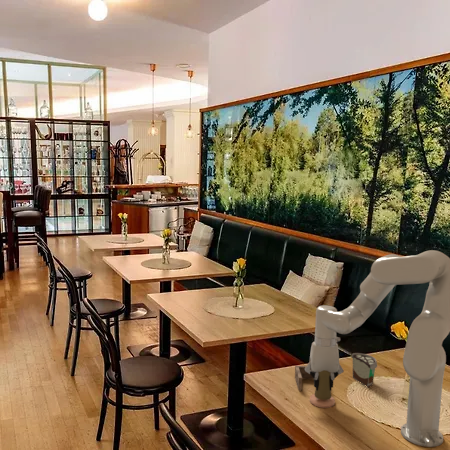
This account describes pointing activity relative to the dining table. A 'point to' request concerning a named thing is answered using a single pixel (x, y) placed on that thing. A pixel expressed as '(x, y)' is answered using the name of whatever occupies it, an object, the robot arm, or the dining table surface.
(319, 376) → the olive peg doll
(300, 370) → the walnut shelf bay
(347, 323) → the robot arm
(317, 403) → the terracotta coaster
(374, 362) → the food container
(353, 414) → the dining table surface
